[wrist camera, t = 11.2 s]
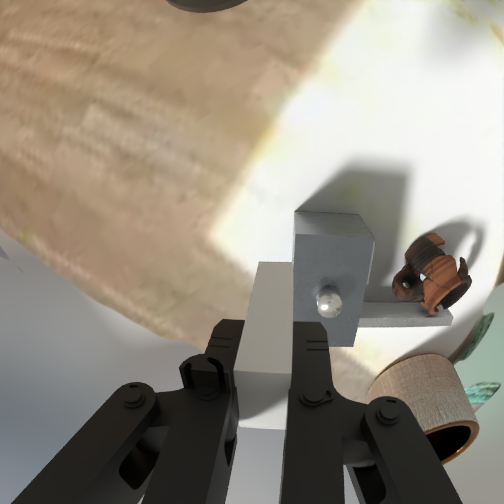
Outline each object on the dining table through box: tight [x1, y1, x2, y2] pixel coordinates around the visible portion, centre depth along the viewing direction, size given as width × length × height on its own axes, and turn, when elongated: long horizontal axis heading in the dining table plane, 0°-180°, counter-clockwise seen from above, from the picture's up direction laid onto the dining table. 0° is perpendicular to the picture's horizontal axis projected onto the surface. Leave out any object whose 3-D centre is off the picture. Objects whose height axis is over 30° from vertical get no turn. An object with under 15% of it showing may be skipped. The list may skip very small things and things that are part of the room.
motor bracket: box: [292, 211, 453, 347], centre depth 34 cm, size 14×24×10 cm, turn 90°
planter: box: [366, 354, 480, 465], centre depth 40 cm, size 18×18×16 cm
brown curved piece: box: [392, 233, 472, 314], centre depth 36 cm, size 12×10×8 cm
